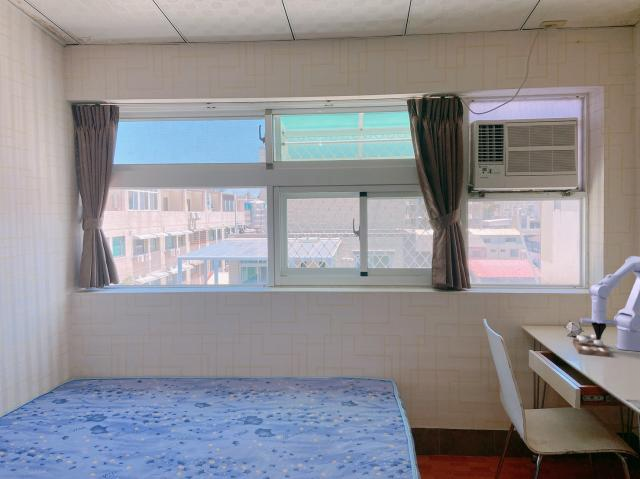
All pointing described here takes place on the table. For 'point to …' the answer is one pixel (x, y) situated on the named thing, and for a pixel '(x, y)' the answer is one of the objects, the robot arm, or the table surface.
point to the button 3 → (598, 343)
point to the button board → (590, 348)
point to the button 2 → (593, 336)
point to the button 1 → (583, 339)
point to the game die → (573, 328)
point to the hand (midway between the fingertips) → (598, 339)
